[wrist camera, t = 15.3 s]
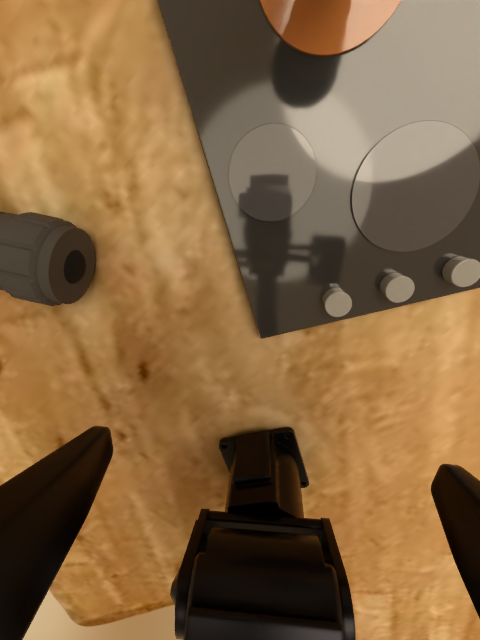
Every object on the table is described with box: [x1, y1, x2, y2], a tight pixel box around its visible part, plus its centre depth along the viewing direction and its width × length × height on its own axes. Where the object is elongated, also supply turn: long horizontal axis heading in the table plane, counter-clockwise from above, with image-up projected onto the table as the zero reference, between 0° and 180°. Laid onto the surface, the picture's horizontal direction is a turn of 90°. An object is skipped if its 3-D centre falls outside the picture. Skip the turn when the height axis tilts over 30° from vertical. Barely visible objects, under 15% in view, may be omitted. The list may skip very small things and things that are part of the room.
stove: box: [157, 0, 480, 339], centre depth 15 cm, size 21×14×2 cm
